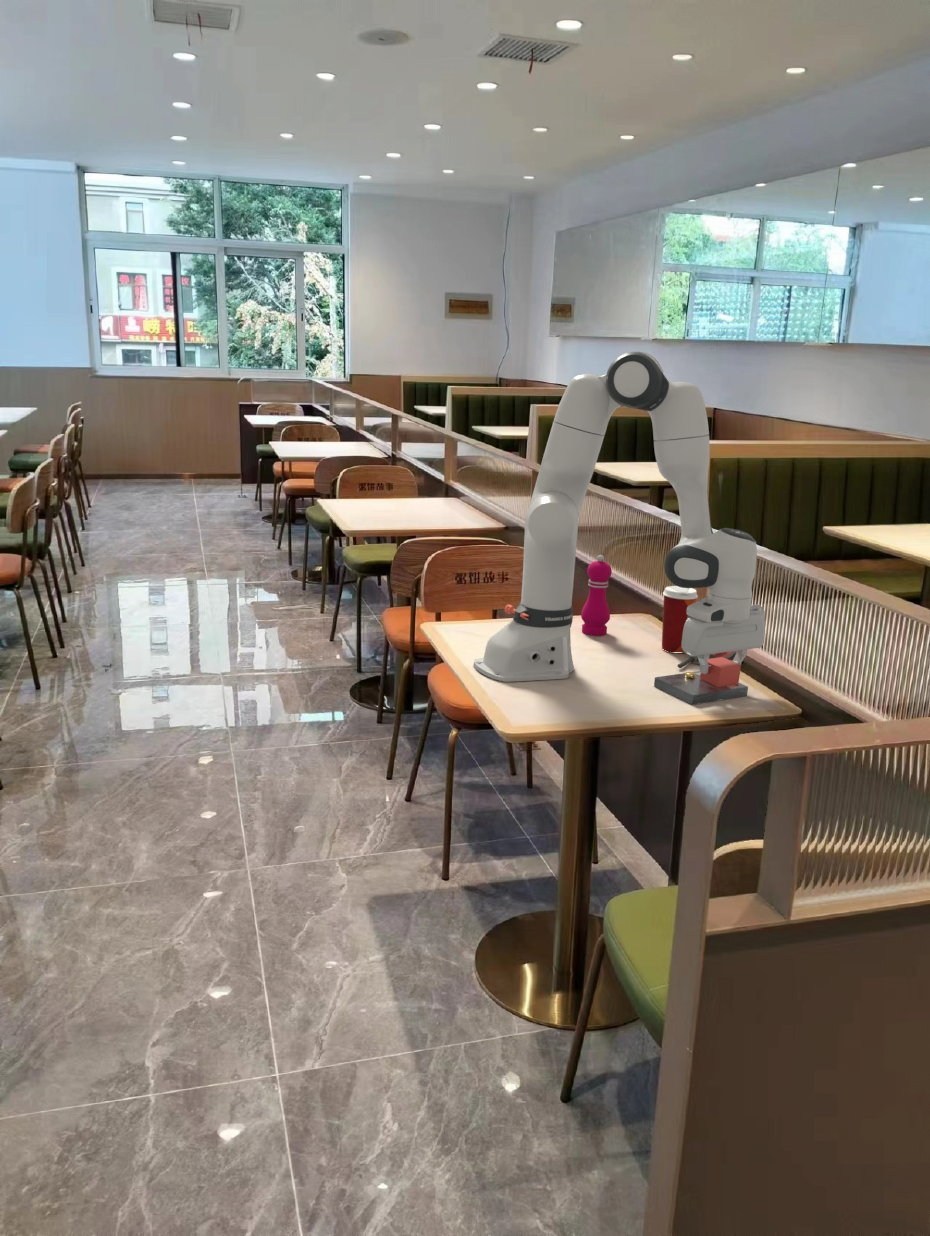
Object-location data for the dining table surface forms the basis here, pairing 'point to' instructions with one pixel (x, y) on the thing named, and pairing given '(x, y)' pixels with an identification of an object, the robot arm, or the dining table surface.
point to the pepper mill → (597, 599)
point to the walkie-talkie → (694, 659)
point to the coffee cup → (675, 616)
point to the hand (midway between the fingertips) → (720, 671)
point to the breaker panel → (697, 688)
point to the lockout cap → (722, 672)
